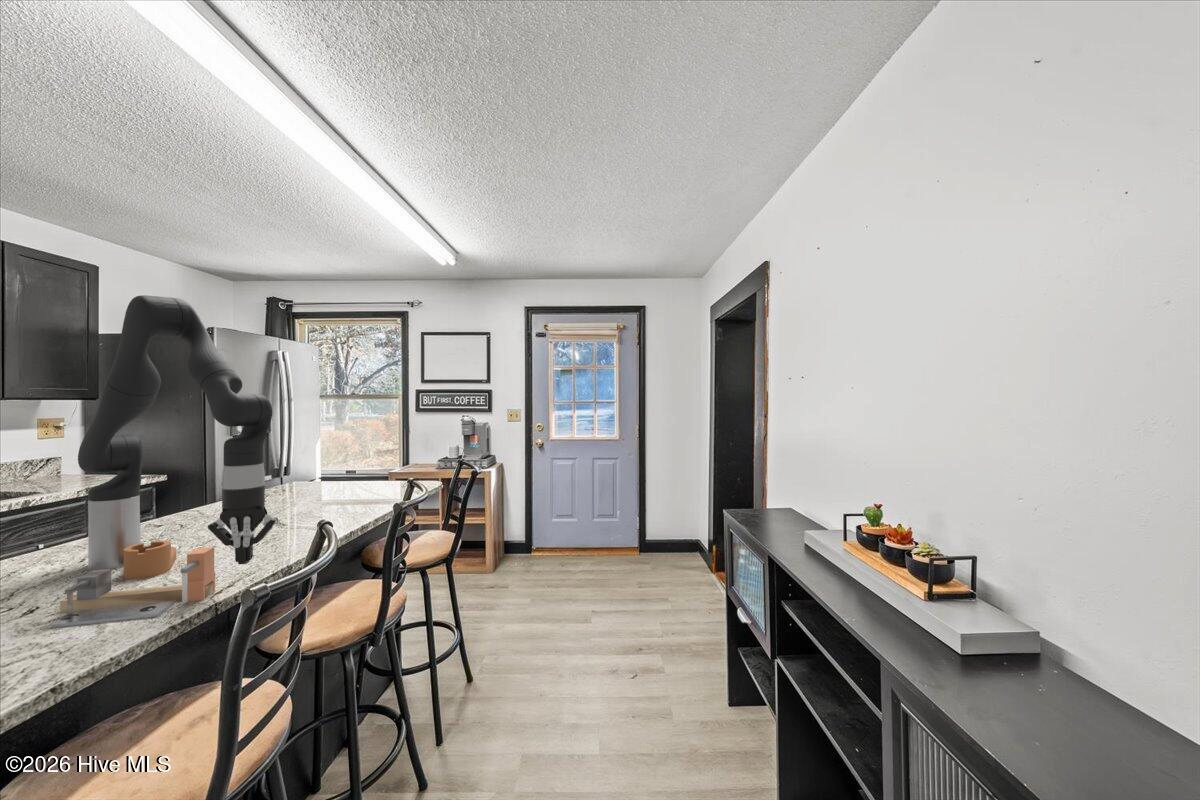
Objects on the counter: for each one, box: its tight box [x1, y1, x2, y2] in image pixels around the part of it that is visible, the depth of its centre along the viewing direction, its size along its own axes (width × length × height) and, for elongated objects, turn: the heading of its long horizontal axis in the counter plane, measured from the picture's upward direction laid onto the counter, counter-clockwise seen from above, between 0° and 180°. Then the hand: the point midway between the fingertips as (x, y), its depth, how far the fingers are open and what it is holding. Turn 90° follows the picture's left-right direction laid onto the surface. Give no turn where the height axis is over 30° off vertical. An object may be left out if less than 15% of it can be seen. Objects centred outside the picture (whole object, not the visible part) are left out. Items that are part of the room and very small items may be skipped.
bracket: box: [123, 540, 177, 580], centre depth 119 cm, size 18×8×7 cm, turn 36°
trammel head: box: [180, 546, 216, 604], centre depth 100 cm, size 10×3×10 cm, turn 17°
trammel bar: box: [59, 569, 214, 616], centre depth 96 cm, size 9×24×7 cm, turn 107°
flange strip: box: [49, 601, 176, 629], centre depth 92 cm, size 6×16×1 cm, turn 107°
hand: (243, 563), depth 104 cm, fingers closed
